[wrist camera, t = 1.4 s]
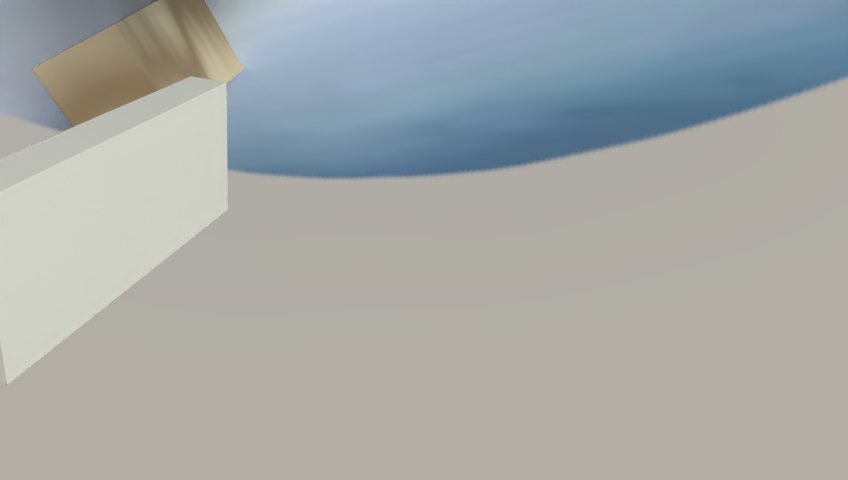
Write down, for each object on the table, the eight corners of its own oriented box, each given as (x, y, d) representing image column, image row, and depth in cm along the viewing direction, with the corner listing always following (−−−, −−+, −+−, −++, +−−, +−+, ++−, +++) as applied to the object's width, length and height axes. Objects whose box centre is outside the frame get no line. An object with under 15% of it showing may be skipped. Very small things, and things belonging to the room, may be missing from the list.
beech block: (120, 20, 42) (31, 68, 35) (192, -19, 40) (113, 24, 34) (172, 102, 44) (98, 162, 37) (244, 68, 42) (179, 125, 36)
